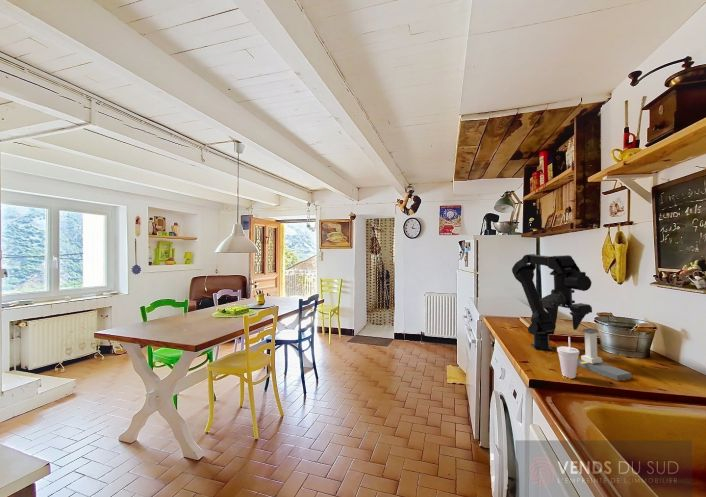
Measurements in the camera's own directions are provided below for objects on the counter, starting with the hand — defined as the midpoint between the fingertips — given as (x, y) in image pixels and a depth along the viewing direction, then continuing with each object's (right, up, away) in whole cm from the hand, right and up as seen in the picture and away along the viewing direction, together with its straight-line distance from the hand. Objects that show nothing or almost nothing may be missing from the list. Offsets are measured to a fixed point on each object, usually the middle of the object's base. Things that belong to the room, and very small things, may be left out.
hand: (564, 326), depth 120 cm
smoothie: (-9, -14, -15) cm, 22 cm away
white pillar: (+4, -11, -8) cm, 14 cm away
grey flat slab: (+5, -13, -12) cm, 18 cm away
